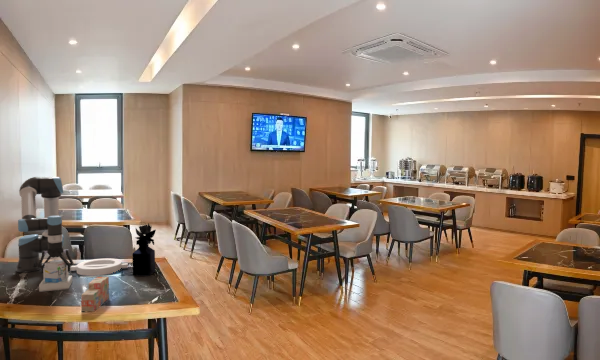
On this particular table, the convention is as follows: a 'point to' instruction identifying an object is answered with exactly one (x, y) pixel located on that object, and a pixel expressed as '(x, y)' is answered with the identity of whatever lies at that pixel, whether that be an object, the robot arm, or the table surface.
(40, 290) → the box
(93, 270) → the ring with crossbar
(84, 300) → the stack of blocks
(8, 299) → the table surface
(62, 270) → the ink box
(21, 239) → the robot arm
